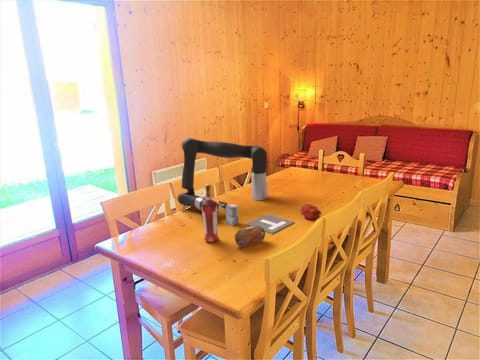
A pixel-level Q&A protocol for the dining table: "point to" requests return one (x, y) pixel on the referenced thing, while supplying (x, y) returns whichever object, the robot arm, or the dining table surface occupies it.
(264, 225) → the letter board
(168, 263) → the dining table surface
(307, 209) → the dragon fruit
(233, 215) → the grey block
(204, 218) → the liquor
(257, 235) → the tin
